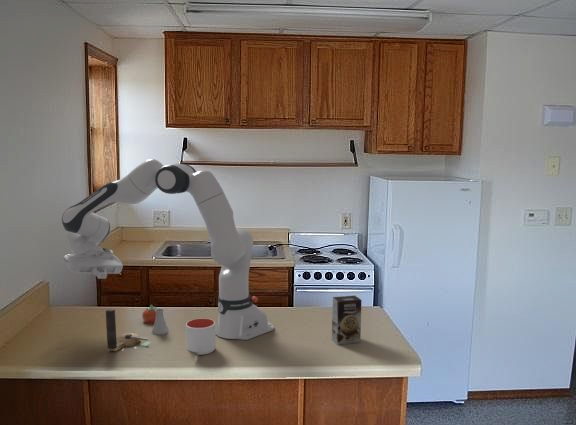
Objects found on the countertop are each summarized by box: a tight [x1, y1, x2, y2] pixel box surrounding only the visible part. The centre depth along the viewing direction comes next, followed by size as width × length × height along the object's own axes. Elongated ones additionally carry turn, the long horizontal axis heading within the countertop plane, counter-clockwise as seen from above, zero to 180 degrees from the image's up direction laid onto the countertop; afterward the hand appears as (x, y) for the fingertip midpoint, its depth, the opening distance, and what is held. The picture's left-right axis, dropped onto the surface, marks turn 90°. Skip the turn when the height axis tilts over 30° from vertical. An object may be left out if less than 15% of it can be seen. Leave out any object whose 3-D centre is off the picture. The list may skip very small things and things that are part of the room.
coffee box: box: [331, 294, 362, 346], centre depth 193 cm, size 9×6×16 cm
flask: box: [150, 307, 169, 335], centre depth 198 cm, size 7×7×10 cm
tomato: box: [141, 304, 158, 324], centre depth 210 cm, size 7×7×8 cm
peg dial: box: [105, 308, 149, 352], centre depth 184 cm, size 14×12×14 cm
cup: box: [185, 317, 217, 356], centre depth 184 cm, size 10×10×10 cm
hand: (102, 277), depth 192 cm, fingers closed
